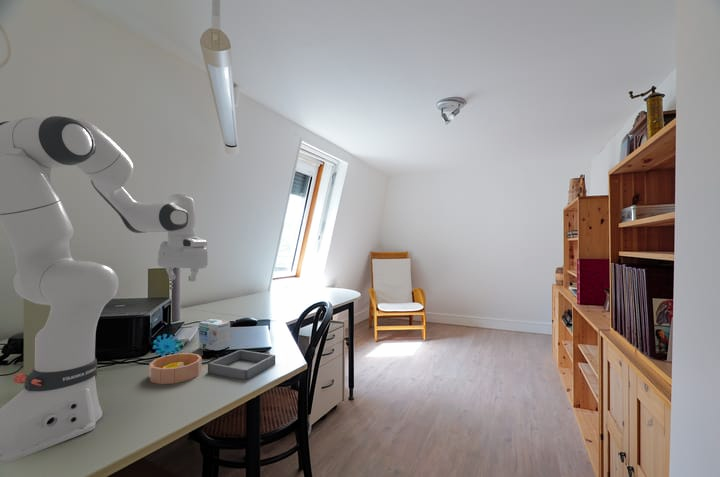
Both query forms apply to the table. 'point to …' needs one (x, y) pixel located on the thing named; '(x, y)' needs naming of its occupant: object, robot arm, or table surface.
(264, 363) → the parts tray
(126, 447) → the table surface
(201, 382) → the table surface
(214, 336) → the light bulb box
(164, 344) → the gear
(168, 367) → the watch
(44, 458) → the table surface
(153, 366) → the bowl
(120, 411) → the table surface
